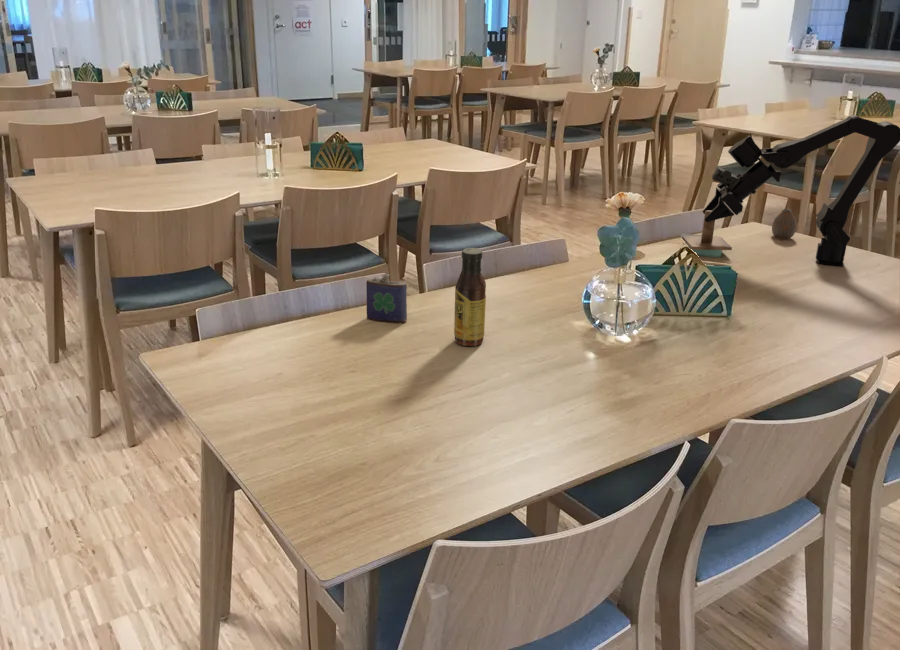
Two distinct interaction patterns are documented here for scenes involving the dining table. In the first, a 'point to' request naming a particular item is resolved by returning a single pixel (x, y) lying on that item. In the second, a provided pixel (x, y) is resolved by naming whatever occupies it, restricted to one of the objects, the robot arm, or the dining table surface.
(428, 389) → the dining table surface
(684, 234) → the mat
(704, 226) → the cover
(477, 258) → the sauce bottle
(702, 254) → the dish
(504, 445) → the dining table surface
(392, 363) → the dining table surface
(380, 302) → the flask
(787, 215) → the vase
